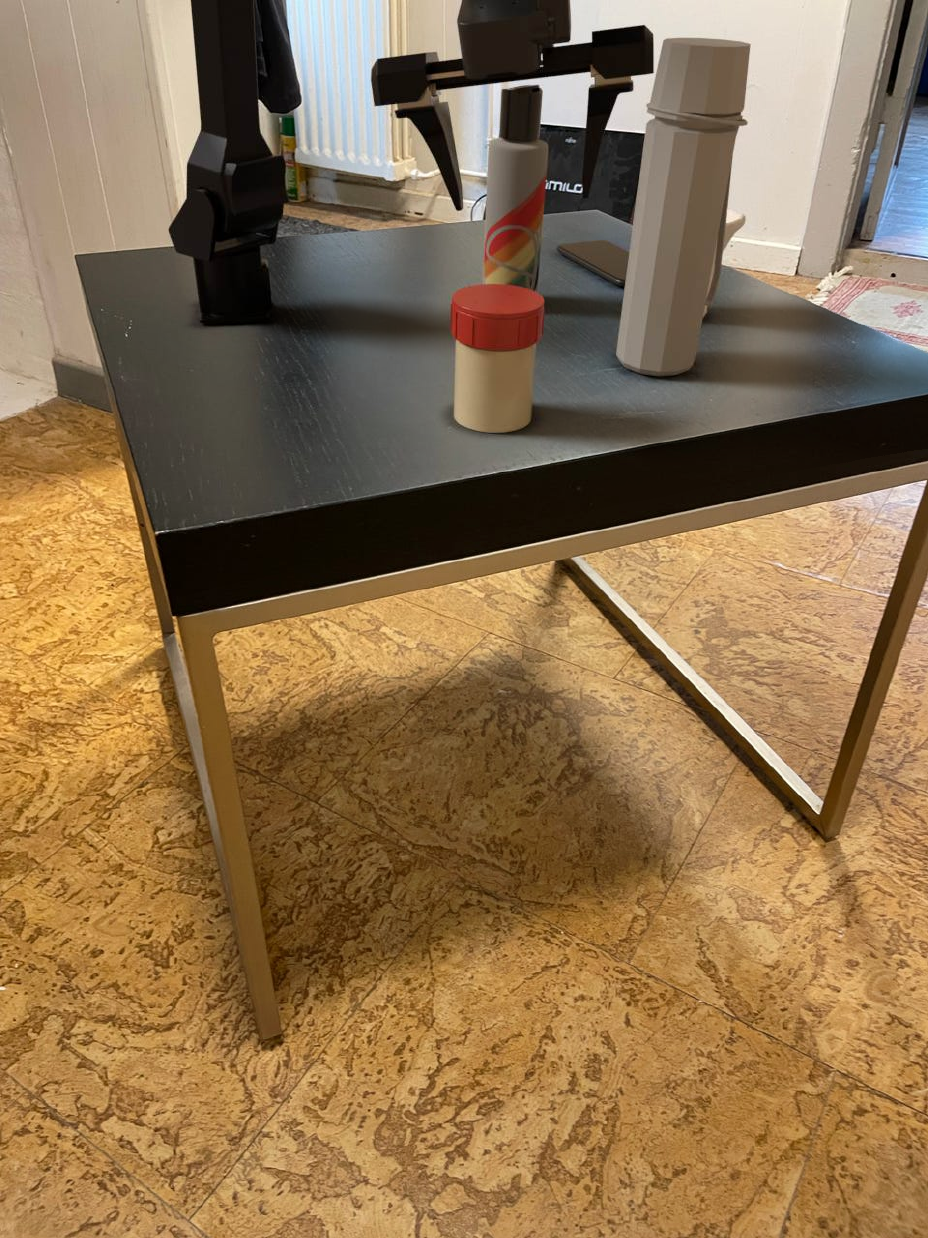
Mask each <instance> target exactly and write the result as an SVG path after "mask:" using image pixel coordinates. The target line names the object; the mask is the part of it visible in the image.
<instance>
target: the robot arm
mask: <svg viewBox="0 0 928 1238" xmlns="http://www.w3.org/2000/svg"><path fill="white" fill-rule="evenodd" d="M254 1H255V0H190V8H191V19H192V20H191V21H192V22H191V23H192V31H193V43H194V56H195V67H196V68H195V69H196V80H197V92H198V104H199V116H200V131H199V134H198V136H197V139H196V141H195V143H194V146H193V148H192V150H191V153H190V154H189V157H188V159H187V163H186V189H185V190H186V191H185V192H186V193H185V195H186V196H185V200H184V202H183V203H182V205H181V206H180V208H179V210H178V211H177V213H176V215H175V217H174V218H173V220H172V222H171V223H170V225H169V227H168V233H169V237H170V240H171V242H172V244H173V247H174V250H175V252H176V253H177V254H180V255H183V256H186V257H190V258H192V260H193V261H192V262H193V268H194V275H195V283H196V290H197V295H198V296H197V297H198V303H199V311H198V313H199V314H198V320H199V324H203V325H209V324H232V323H233V324H235V323H258V322H268V321H269V311H271V310H272V309H273V300H272V291H271V289H272V288H271V280H270V269H269V261H268V260H267V259H266V258H262V252H261V247H263V246H266V245H274V244H276V241H277V236H278V230H279V225H280V222H281V221H282V219H283V215H284V209H285V204H288V203H289V202H290V200H289V197H288V193H287V187H286V173H287V163H286V160H285V157H284V156H283V155H282V154H274V153H273V151H272V150H271V148H270V146H269V145H268V143H267V140H266V139H265V137H264V135H263V134H262V131H261V123H260V105H259V85H258V65H257V64H258V63H257V44H256V23H255V5H254V4H255V3H254ZM456 24H457V31H458V38H459V45H460V53H461V58H454V59H447V60H440V59H439V56H438V52H437V51H430V52H420V53H412V54H411V53H410V54H404V55H397V56H389V57H379V58H377V59H376V61H375V62H374V63H373V66H372V68H371V71H370V82H371V83H370V84H371V90H372V97H373V105H374V107H382V106H393V105H396V107H397V108H396V109H395V110H394V115H395V118H396V119H408V120H409V121H411V123H412V124H413V126H414V127H415V128H416V129H417V131H418V132H419V134H420V135H421V137H422V138H423V140H424V142H425V144H426V146H427V148H428V149H429V151H430V153H431V154H432V156H433V159H434V161H435V163H436V165H437V169H438V171H439V173H440V175H441V177H442V178H441V179H442V181H443V182H444V185H445V187H446V189H447V191H448V194H449V197H450V199H451V201H452V203H453V204H452V205H453V206H454V209H455V210H456V212H460V211H463V209H464V193H463V182H462V176H461V170H460V165H459V158H458V152H457V147H456V142H455V141H456V140H455V136H454V135H455V134H454V129H453V123H452V117H451V110H450V106H449V101H440V96H441V95H442V91H444V90H452V89H461V88H468V87H470V88H471V87H479V86H485V85H493V84H495V85H496V84H503V83H510V82H519V81H527V80H535V79H543V78H544V79H545V78H551V77H559V76H560V77H563V76H568V75H577V74H586V73H590V78H594V83H592V84H590V86H589V87H588V89H587V91H588V92H587V107H586V108H587V109H586V121H585V133H584V134H585V135H584V144H583V145H584V146H583V158H582V171H581V188H582V199H583V200H585V199H589V198H590V197H589V196H590V192H591V188H592V185H593V180H594V176H595V172H596V167H597V163H598V159H599V155H600V151H601V146H602V141H603V138H604V134H605V132H606V129H607V126H608V123H609V120H610V118H611V115H612V112H613V109H614V107H615V104H616V101H617V99H618V96H619V95H620V94H624V93H631V92H632V93H633V91H634V80H633V79H632V77H636V76H644V75H645V76H646V75H652V74H655V73H654V72H655V52H654V51H655V50H654V49H655V48H654V47H655V45H654V33H653V32H652V31H651V30H650V29H649V27H648V26H646V24H641V25H632V26H624V27H618V28H617V27H616V28H609V29H608V28H607V29H602V30H601V29H600V30H594V31H591V41H590V42H589V41H588V42H582V43H574V44H567V45H560V44H564V43H570V41H571V37H572V10H571V0H461V3H460V7H459V10H458V15H457V18H456ZM558 44H559V46H555V45H558Z"/></svg>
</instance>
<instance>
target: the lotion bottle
mask: <svg viewBox="0 0 928 1238" xmlns="http://www.w3.org/2000/svg"><path fill="white" fill-rule="evenodd" d="M543 93H544V92H543V89H542V88H541V87H540V84H525V85H518V86H514V87H510V88H502V89H501V91H500V112H499V131H498V133H499V135H498V136H499V137H497V138H493V139H491V140H490V141H489V144H488V153H487V154H488V155H487V171H486V172H487V173H486V174H487V175H486V197H485V198H486V199H485V220H484V242H483V244H484V245H483V264H482V266H483V267H482V284H504V285H513V286H519V287H523V288H527V289H530V290H533V291H535V292H537V293H538V287H539V276H540V275H539V274H540V265H541V263H540V262H541V250H542V238H543V225H544V212H545V199H546V187H547V174H548V162H549V161H548V160H549V144H548V142H546V141H544V140H541V139H540V134H541V121H542V109H543V108H542V107H543Z"/></svg>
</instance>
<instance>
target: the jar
mask: <svg viewBox="0 0 928 1238" xmlns="http://www.w3.org/2000/svg"><path fill="white" fill-rule="evenodd" d="M454 343H455V349H454V351H455V352H454V384H453V385H454V388H453V389H454V390H453V417H454V420H455V421H456V422H457V424H459V425H460V426H462V427H464V428H466V429H469V430H473V431H475V432H480V433H487V434H488V433H489V434H502V433H504V434H505V433H509V432H515V431H518V430H521V429H523V428H525V427H526V426H527V425H529V424H530V422H531V420H532V412H533V411H532V410H533V399H534V398H533V397H534V385H535V372H536V359H537V358H536V357H537V348H538V347H537V345H538V342H537V343H536V344H534V345H532V346H529V347H525V348H520V349H515V350H489V349H480V348H476V347H472V346H469V345H465V344H463V343H461V342H459V341H458V340H456V339H455V342H454Z"/></svg>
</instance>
